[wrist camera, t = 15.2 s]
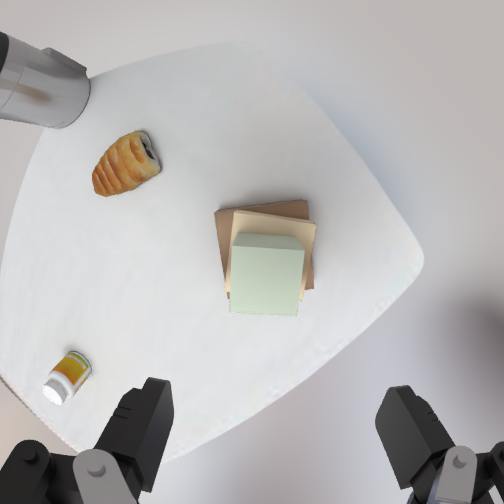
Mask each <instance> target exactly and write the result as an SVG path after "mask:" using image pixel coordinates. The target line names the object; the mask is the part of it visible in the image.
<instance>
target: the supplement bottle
mask: <svg viewBox="0 0 504 504" xmlns="http://www.w3.org/2000/svg"><path fill="white" fill-rule="evenodd" d="M90 373H91V367H90V365H89V363H88V361H87V360H86V359H85V358H84V357H83V356H82V355H81V354H79V353H77V352H70V353H68V354H67V355H66V356H65V357H64V358H63V359H62V360H61V361H60V362H59V363H58V364H57V365H56V366H55V367H54V369H53V370H52V371H51V372H50V373H49V374H48V381H47V382H46V383H45V385H44V386H43V391H44V393H45V395H46V396H47V398H48V399H49V400H50V401H52V402H53V403H55V404H57V405H61V404H62V403H63V402H64V401H65V399H70V398H72V397H73V396H74V395H75V394H76V392H77V391H78V390H79V388H80V387H81V386H82V384H83V383H84V382H85V381H86V379H87V378H88V377H89V375H90Z"/></svg>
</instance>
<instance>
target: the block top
mask: <svg viewBox="0 0 504 504" xmlns="http://www.w3.org/2000/svg"><path fill="white" fill-rule="evenodd" d="M316 227H317V225H316V224H315V223H313V222H312V221H310V220H305V219H299V218H292V217H286V216H279V215H273V214H266V213H259V212H252V211H245V210H236V211H235V212H234V217H233V225H232V233H231V241H230V249H229V257H228V265H227V273H226V282H225V290H224V291H225V292H230V276H231V252H232V244H233V242H234V239H235V237H236V234H237V232H239V233H255V234H270V235H285V236H295V237H296V239H297V240H298V242H299V243H300V244H301V246H302V247H303V249H304V250H305V253H304V262H303V271H302V280H301V288H300V296H299V301H302V298H303V294H304V289H305V284H306V279H307V274H308V269H309V264H310V259H311V254H312V249H313V243H314V238H315V232H316Z"/></svg>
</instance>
